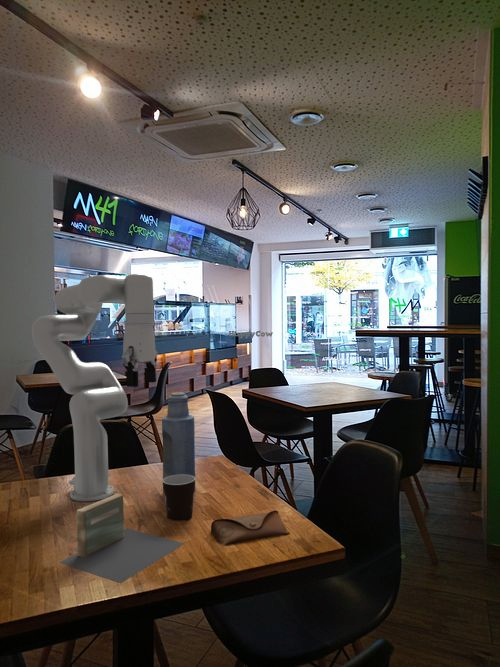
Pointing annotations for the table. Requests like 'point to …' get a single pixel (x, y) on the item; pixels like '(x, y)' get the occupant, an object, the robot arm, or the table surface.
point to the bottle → (178, 437)
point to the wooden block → (100, 524)
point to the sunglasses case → (248, 528)
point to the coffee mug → (179, 496)
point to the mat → (124, 556)
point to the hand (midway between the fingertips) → (141, 384)
